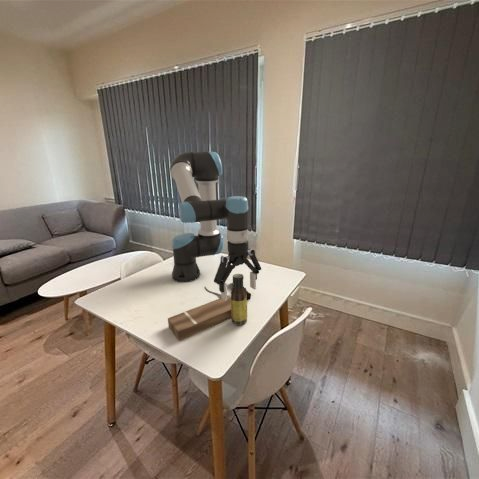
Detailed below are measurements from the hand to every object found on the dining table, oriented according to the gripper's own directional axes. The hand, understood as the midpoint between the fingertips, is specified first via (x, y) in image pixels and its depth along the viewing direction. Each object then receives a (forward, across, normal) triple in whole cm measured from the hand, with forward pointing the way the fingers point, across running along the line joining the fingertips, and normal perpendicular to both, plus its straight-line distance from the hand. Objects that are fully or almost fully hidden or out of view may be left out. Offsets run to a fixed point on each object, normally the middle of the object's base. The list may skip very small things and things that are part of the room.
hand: (239, 293), depth 100 cm
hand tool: (+13, +14, +20) cm, 27 cm away
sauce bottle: (+13, 0, 0) cm, 13 cm away
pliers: (+13, +7, +24) cm, 28 cm away
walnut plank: (+13, -10, +9) cm, 18 cm away
